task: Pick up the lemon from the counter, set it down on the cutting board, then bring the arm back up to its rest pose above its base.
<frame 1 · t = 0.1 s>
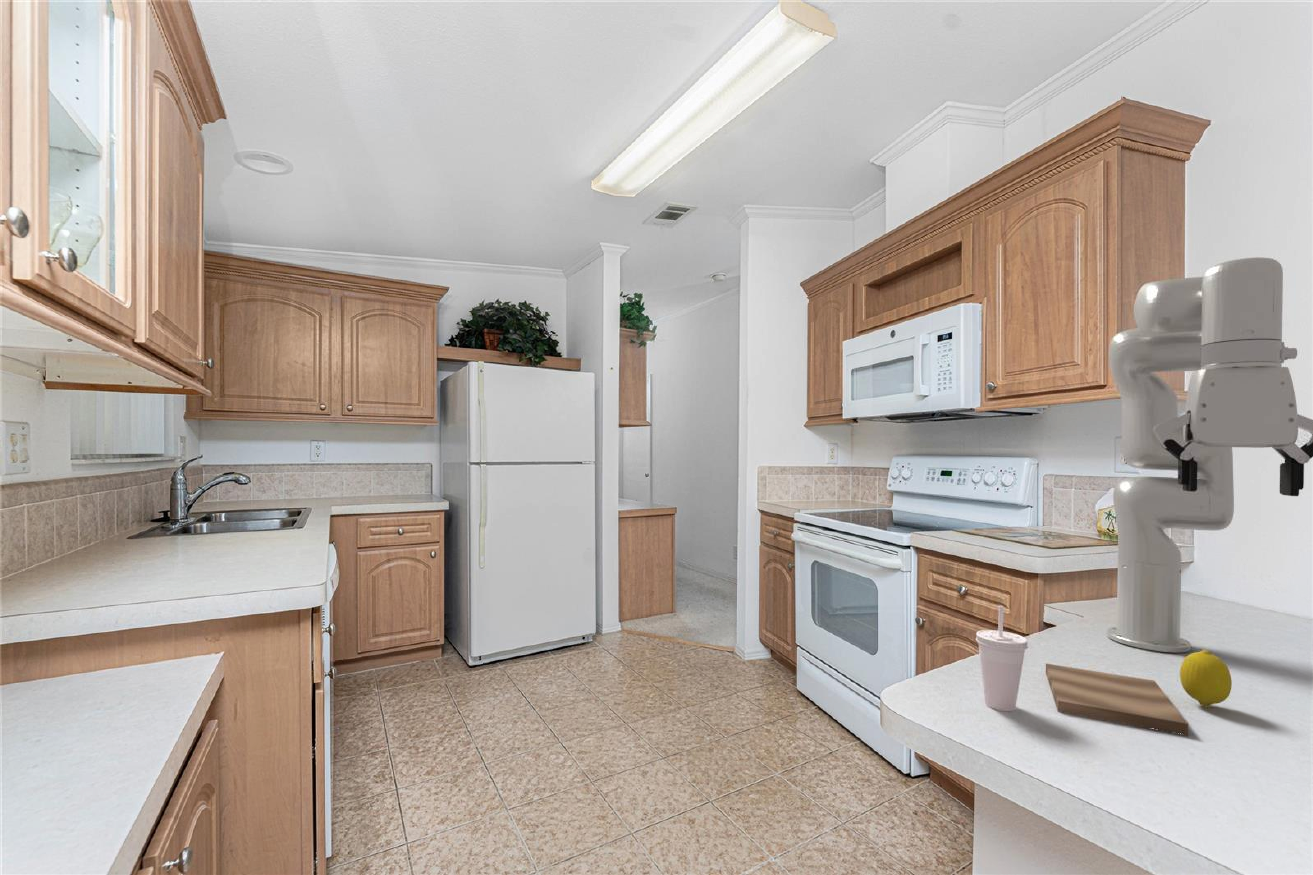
hand: (1237, 493, 79), 31 cm above the countertop, tool pointing down, fingers open, 9 cm apart
cutting board: (1108, 700, 90), on the countertop
lemon: (1204, 708, 88), on the countertop
smoothie: (1000, 707, 87), on the countertop
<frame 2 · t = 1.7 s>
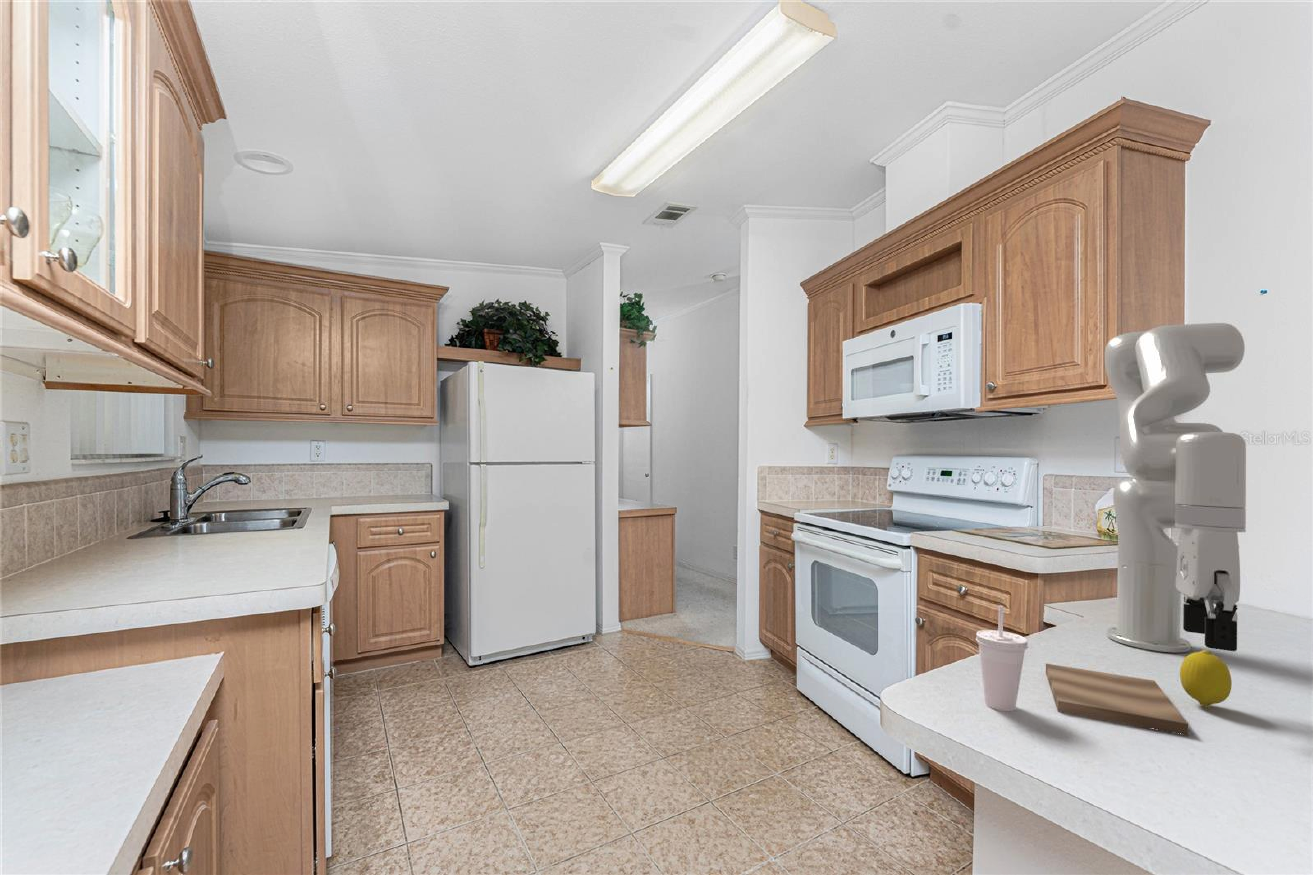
hand: (1208, 640, 88), 10 cm above the countertop, tool pointing down, fingers open, 9 cm apart
nothing on the countertop moved.
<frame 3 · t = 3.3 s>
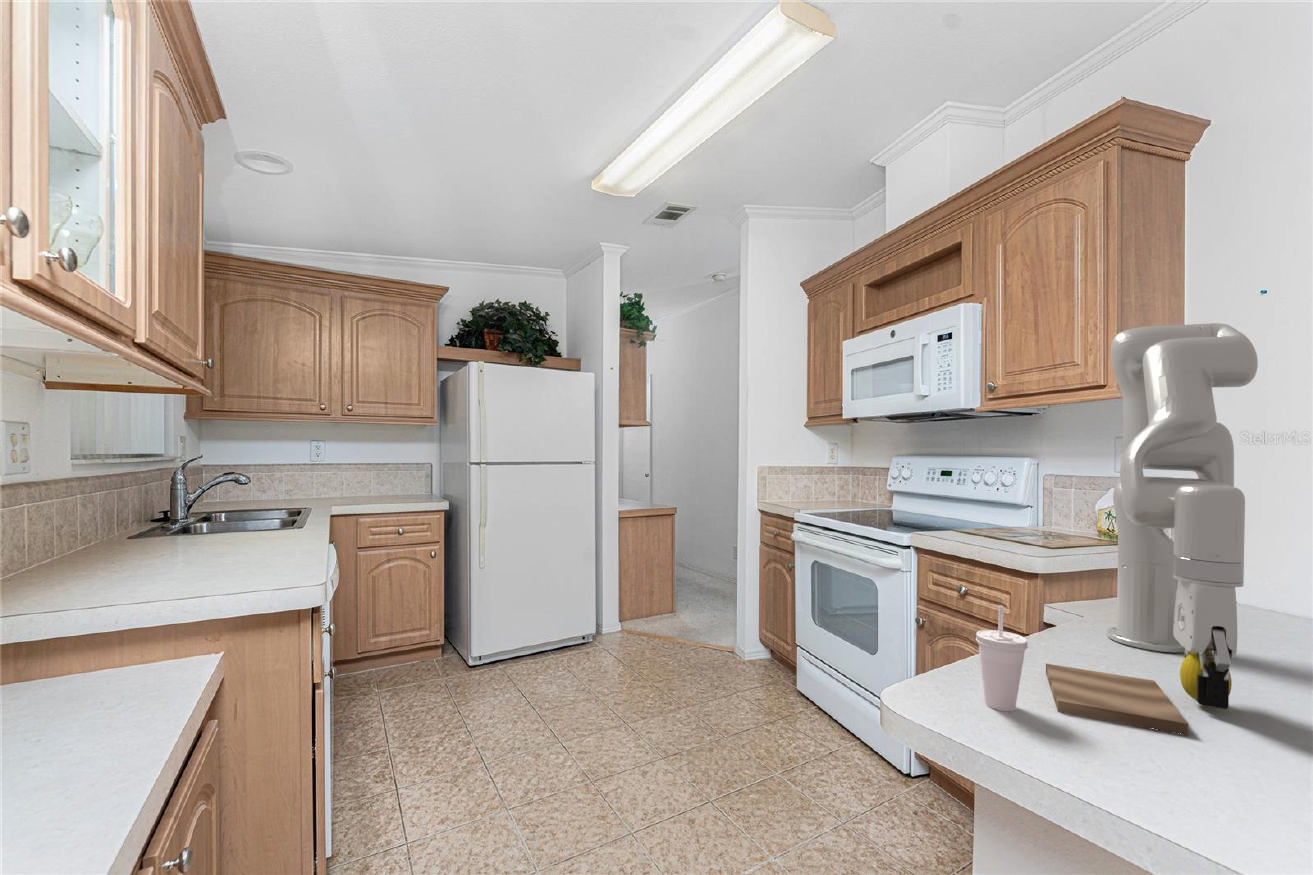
hand: (1205, 696, 88), 1 cm above the countertop, tool pointing down, fingers closed on lemon, 5 cm apart
lemon: (1204, 708, 88), on the countertop, touching gripper
everything else where it was.
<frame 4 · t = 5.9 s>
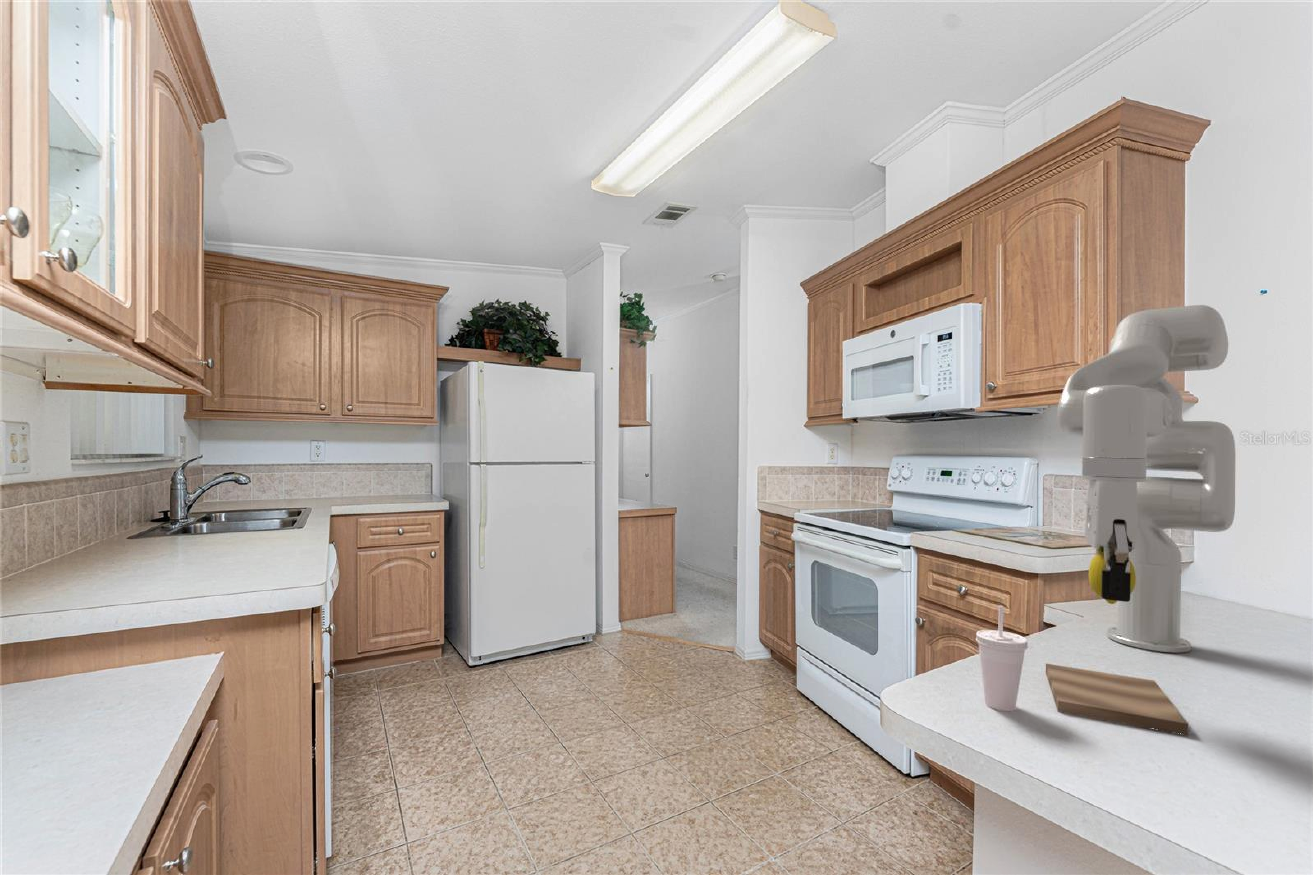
hand: (1111, 594, 90), 15 cm above the countertop, tool pointing down, fingers closed on lemon, 5 cm apart
lemon: (1111, 605, 90), point 14 cm above the countertop, touching gripper
everything else where it was.
when the fingers open (4 cm above the countertop, at t = 8.7 s): lemon drops 1 cm, resting on cutting board.
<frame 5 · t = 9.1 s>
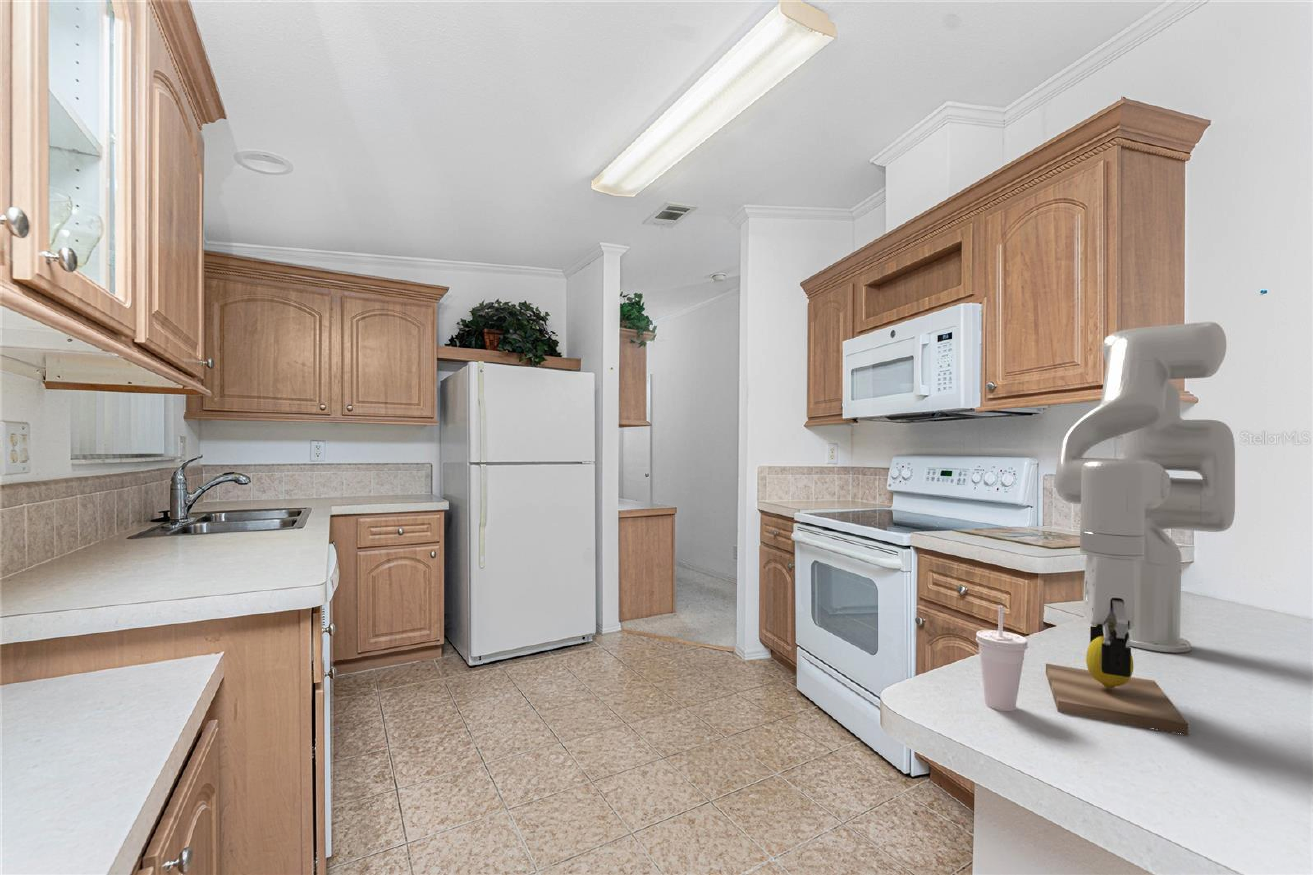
hand: (1109, 664, 90), 5 cm above the countertop, tool pointing down, fingers open, 9 cm apart
lemon: (1108, 690, 90), point 1 cm above the countertop, touching cutting board
everything else where it was.
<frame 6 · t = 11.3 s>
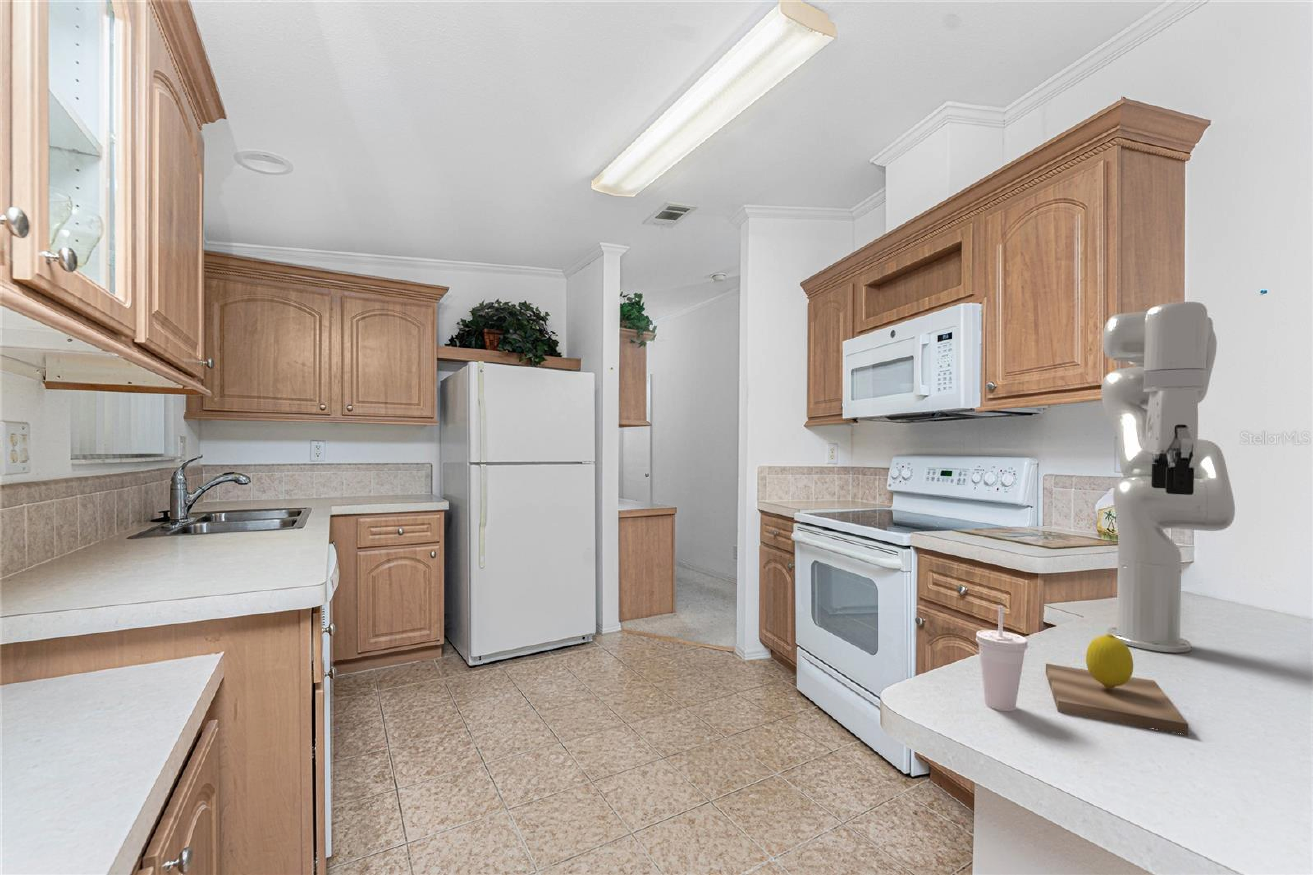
hand: (1171, 491, 98), 30 cm above the countertop, tool pointing down, fingers open, 9 cm apart
nothing on the countertop moved.
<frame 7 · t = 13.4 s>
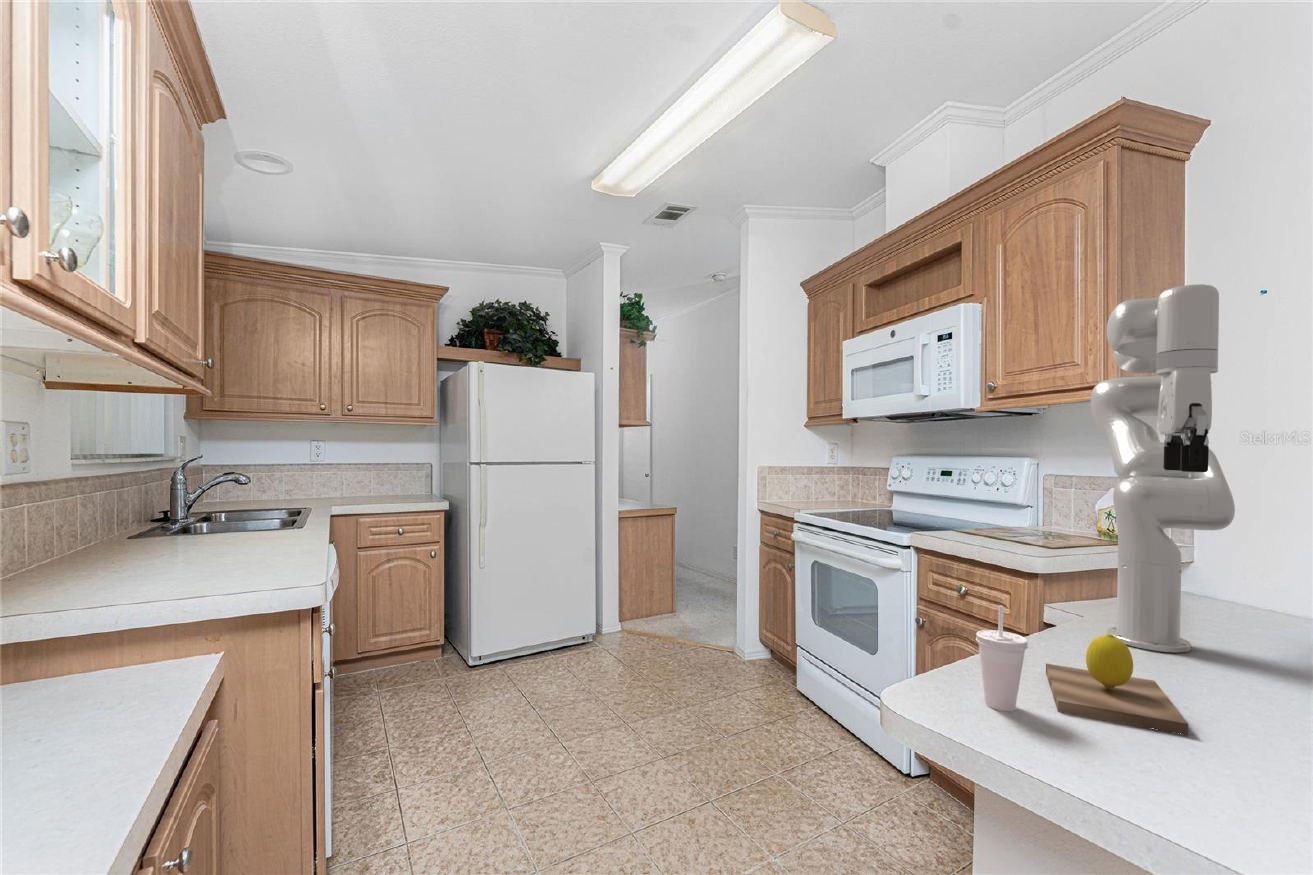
hand: (1184, 471, 99), 33 cm above the countertop, tool pointing down, fingers open, 9 cm apart
nothing on the countertop moved.
at the end: lemon inside the target area on the cutting board (0.4 cm from its centre), point 1.3 cm above the cutting board's base; lemon touching cutting board; the gripper is holding nothing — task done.
